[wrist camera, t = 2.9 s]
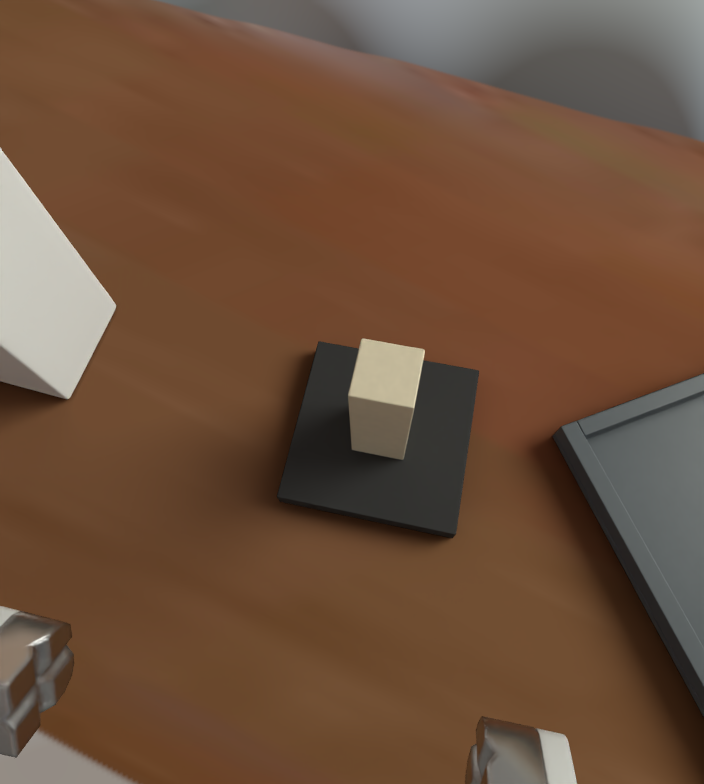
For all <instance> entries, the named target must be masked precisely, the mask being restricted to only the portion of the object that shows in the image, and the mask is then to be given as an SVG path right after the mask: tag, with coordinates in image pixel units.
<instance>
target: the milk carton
mask: <svg viewBox="0 0 704 784" xmlns="http://www.w3.org/2000/svg"><path fill="white" fill-rule="evenodd" d="M115 309H116V304H115V303H114V301H113V300H112V299H111V297H110V296H109V295H108V293H107V292H106V290H105V289H104V288H103V286H102V285H101V284H100V282H99V281H98V280H97V278H96V277H95V276H94V274H93V273H92V271H91V270H90V269H89V267H88V266H87V265H86V263H85V262H84V261H83V259H82V258H81V257H80V255H79V254H78V253H77V251H76V250H75V248H74V247H73V246H72V244H71V243H70V242H69V240H68V239H67V238H66V236H65V235H64V234H63V232H62V231H61V230H60V228H59V227H58V225H57V224H56V223H55V221H54V220H53V219H52V217H51V216H50V215H49V213H48V212H47V211H46V209H45V208H44V206H43V205H42V204H41V202H40V201H39V200H38V198H37V197H36V196H35V194H34V193H33V192H32V190H31V189H30V188H29V186H28V185H27V183H26V182H25V181H24V179H23V178H22V177H21V175H20V174H19V173H18V171H17V170H16V169H15V167H14V166H13V165H12V163H11V162H10V160H9V159H8V158H7V156H6V155H5V154H4V152H3V151H2V150H1V148H0V381H1V382H5V383H9V384H12V385H16V386H20V387H23V388H27V389H31V390H34V391H38V392H42V393H45V394H49V395H53V396H56V397H60V398H64V399H69V398H70V397H71V395H72V393H73V391H74V389H75V387H76V385H77V383H78V382H79V380H80V378H81V376H82V374H83V372H84V370H85V368H86V366H87V364H88V362H89V360H90V358H91V356H92V354H93V352H94V350H95V348H96V346H97V344H98V342H99V340H100V338H101V337H102V335H103V333H104V331H105V329H106V327H107V325H108V323H109V321H110V319H111V317H112V315H113V313H114V311H115Z"/></svg>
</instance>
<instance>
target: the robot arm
mask: <svg viewBox="0 0 704 784" xmlns="http://www.w3.org/2000/svg"><path fill="white" fill-rule="evenodd" d="M71 638H72V632H71V625H70V624H68V623H65V622H62V621H58V620H54V619H50V618H46V617H43V616H39V615H35V614H31V613H27V612H23V611H19V610H15V609H10V608H6V607H2V606H0V754H2V755H7V756H11V757H17V756H18V755H19V753H20V752H21V751H22V749H23V748H24V747H25V745H26V744H27V743H28V741H29V740H30V739H31V737H32V736H33V735H34V733H35V732H36V731H37V729H38V728H39V726H40V713H41V712H43V711H45V710H47V709H49V708H50V707H52V706H54V705H56V703H57V702H58V700H59V699H60V698H61V696H62V695H63V693H64V692H65V690H66V688H67V685H68V683H69V681H70V679H71V676H72V672H73V667H74V654H73V653H72V651H71V650H70V649H69V648H68V646H67V645H66V644H67V643H68V642H69V640H70V639H71ZM465 784H577V781H576V776H575V772H574V767H573V762H572V757H571V753H570V748H569V743H568V740H567V738H566V737H565V735H564V734H559V733H555V732H550V731H546V730H542V729H535V728H534V727H530V726H526V725H521V724H516V723H512V722H507V721H502V720H497V719H493V718H488V717H483V716H482V717H481V718H480V720H479V722H478V725H477V728H476V744H475V745H473V746H471V749H470V753H469V757H468V761H467V768H466V776H465Z"/></svg>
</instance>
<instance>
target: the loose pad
mask: <svg viewBox="0 0 704 784" xmlns="http://www.w3.org/2000/svg"><path fill="white" fill-rule="evenodd" d="M424 353H425V350H424V349H418V348H413V347H407V346H401V345H396V344H390V343H385V342H379V341H374V340H368V339H361V342H360V347H359V349H358V348H352V347H347V346H341V345H336V344H330V343H325V342H318V345H317V349H316V353H315V357H314V360H313V364H312V368H311V372H310V375H309V379H308V383H307V386H306V390H305V394H304V398H303V401H302V405H301V409H300V412H299V416H298V420H297V424H296V427H295V431H294V435H293V439H292V442H291V446H290V450H289V453H288V457H287V461H286V465H285V468H284V472H283V476H282V480H281V483H280V487H279V491H278V494H277V498H278V499H279V501H280V502H284V503H289V504H294V505H298V506H303V507H308V508H312V509H317V510H322V511H327V512H331V513H336V514H341V515H345V516H350V517H355V518H360V519H364V520H369V521H374V522H378V523H383V524H388V525H393V526H397V527H402V528H407V529H411V530H416V531H421V532H425V533H430V534H435V535H440V536H444V537H449V538H453V537H454V536H455V535H456V530H457V523H458V516H459V509H460V502H461V495H462V488H463V481H464V474H465V467H466V460H467V453H468V446H469V439H470V432H471V425H472V418H473V411H474V404H475V397H476V390H477V383H478V376H479V371H478V370H473V369H468V368H462V367H457V366H451V365H446V364H440V363H435V362H429V361H424V360H423V359H424Z"/></svg>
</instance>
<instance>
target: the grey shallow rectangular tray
mask: <svg viewBox="0 0 704 784" xmlns="http://www.w3.org/2000/svg"><path fill="white" fill-rule="evenodd" d="M553 438H554V440H555V442H556V444H557V446H558V448H559V449H560V451H561V453H562V455H563V457H564V459H565V461H566V462H567V464H568V466H569V468H570V470H571V472H572V474H573V475H574V477H575V479H576V481H577V483H578V485H579V487H580V488H581V490H582V492H583V494H584V496H585V498H586V500H587V501H588V503H589V505H590V507H591V509H592V511H593V513H594V514H595V516H596V518H597V520H598V522H599V524H600V526H601V527H602V529H603V531H604V533H605V535H606V537H607V539H608V540H609V542H610V544H611V546H612V548H613V550H614V552H615V553H616V555H617V557H618V559H619V561H620V563H621V565H622V566H623V568H624V570H625V572H626V574H627V576H628V578H629V579H630V581H631V583H632V585H633V587H634V589H635V591H636V592H637V594H638V596H639V598H640V600H641V602H642V604H643V605H644V607H645V609H646V611H647V613H648V615H649V617H650V618H651V620H652V622H653V624H654V626H655V628H656V630H657V631H658V633H659V635H660V637H661V639H662V641H663V643H664V644H665V646H666V648H667V650H668V652H669V654H670V656H671V657H672V659H673V661H674V663H675V665H676V667H677V669H678V670H679V672H680V674H681V676H682V678H683V680H684V682H685V683H686V685H687V687H688V689H689V691H690V693H691V695H692V696H693V698H694V700H695V702H696V704H697V706H698V708H699V709H700V711H701V713H702V715H703V717H704V373H703V374H701V375H698V376H695V377H693V378H690V379H687V380H685V381H682V382H679V383H677V384H674V385H671V386H669V387H666V388H663V389H661V390H658V391H655V392H653V393H650V394H647V395H645V396H642V397H639V398H636V399H634V400H631V401H628V402H626V403H623V404H620V405H618V406H615V407H612V408H610V409H607V410H604V411H602V412H599V413H596V414H594V415H591V416H588V417H586V418H583V419H580V420H578V421H575V422H572V423H569V424H567V425H564V426H561V427H560V428H559V430H558V431H557V432H556V433H555V434H554V435H553Z"/></svg>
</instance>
